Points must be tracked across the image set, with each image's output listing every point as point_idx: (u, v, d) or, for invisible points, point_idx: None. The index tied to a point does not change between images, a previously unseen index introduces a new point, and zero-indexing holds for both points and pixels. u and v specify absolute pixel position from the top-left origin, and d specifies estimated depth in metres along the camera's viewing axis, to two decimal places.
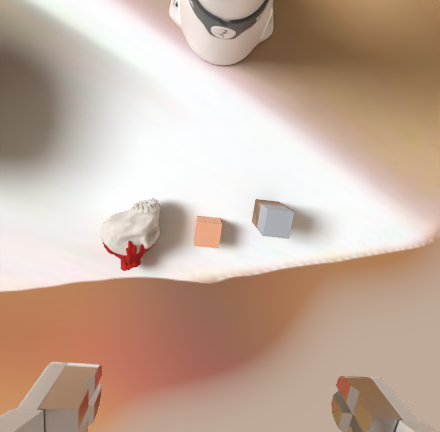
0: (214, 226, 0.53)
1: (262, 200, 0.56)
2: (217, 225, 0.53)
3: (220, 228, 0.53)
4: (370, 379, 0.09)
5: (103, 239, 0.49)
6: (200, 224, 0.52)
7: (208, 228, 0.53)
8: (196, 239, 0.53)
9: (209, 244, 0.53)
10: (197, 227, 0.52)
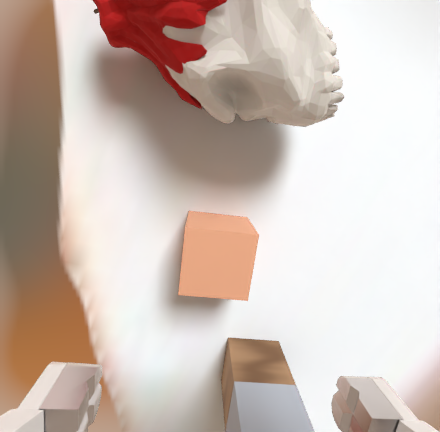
0: (242, 281, 0.19)
1: None
2: (245, 289, 0.19)
3: (236, 296, 0.19)
4: (370, 379, 0.09)
5: None
6: (250, 244, 0.18)
7: (237, 266, 0.19)
8: (205, 233, 0.18)
9: (188, 269, 0.18)
10: (241, 236, 0.18)
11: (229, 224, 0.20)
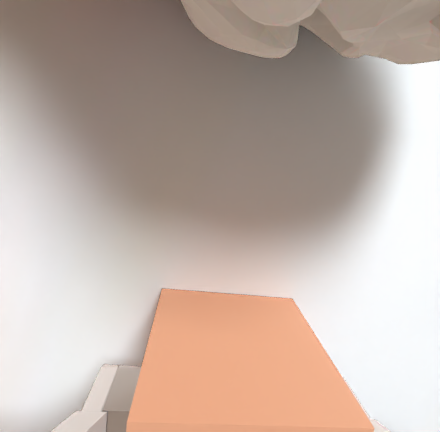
0: None
1: None
2: None
3: None
4: None
5: None
6: None
7: None
8: None
9: None
10: None
11: (266, 355, 0.07)
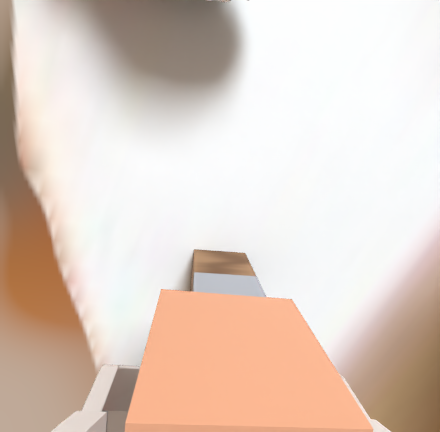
0: None
1: None
2: None
3: None
4: None
5: None
6: None
7: None
8: None
9: None
10: None
11: (265, 356, 0.07)
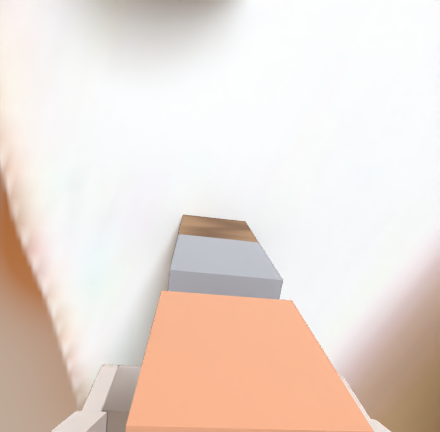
0: None
1: None
2: None
3: None
4: None
5: None
6: None
7: None
8: None
9: None
10: None
11: (265, 357, 0.07)
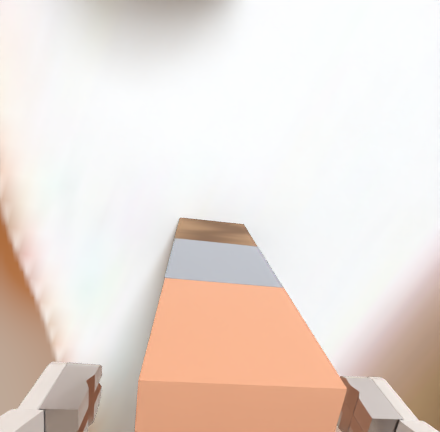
0: None
1: None
2: None
3: None
4: (370, 379, 0.09)
5: None
6: (321, 413, 0.07)
7: None
8: (197, 394, 0.06)
9: None
10: (300, 395, 0.06)
11: (257, 332, 0.08)
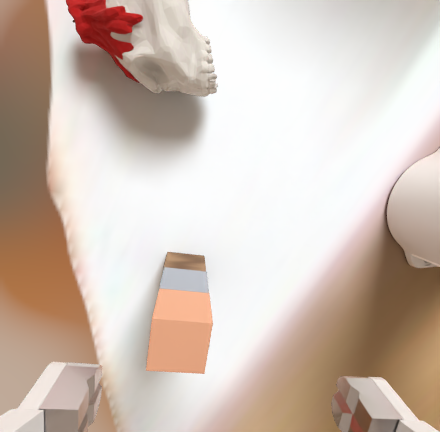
0: (199, 359, 0.23)
1: None
2: (202, 364, 0.23)
3: (194, 370, 0.23)
4: (370, 379, 0.09)
5: None
6: (205, 330, 0.22)
7: (195, 347, 0.23)
8: (168, 323, 0.22)
9: (154, 350, 0.22)
10: (198, 324, 0.22)
11: (191, 308, 0.24)
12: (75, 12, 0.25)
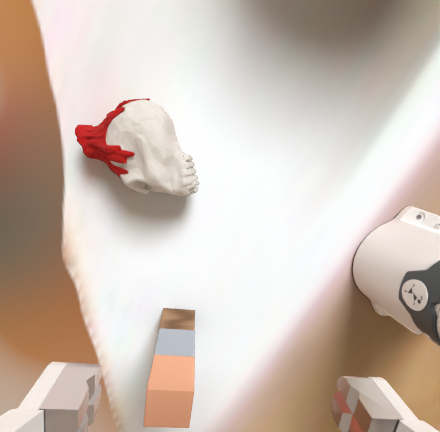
0: (185, 417, 0.29)
1: None
2: (187, 421, 0.30)
3: (181, 426, 0.30)
4: (370, 379, 0.09)
5: (133, 106, 0.29)
6: (188, 396, 0.29)
7: (181, 409, 0.29)
8: (159, 392, 0.28)
9: (149, 412, 0.29)
10: (183, 392, 0.29)
11: (178, 376, 0.30)
12: (82, 142, 0.31)
